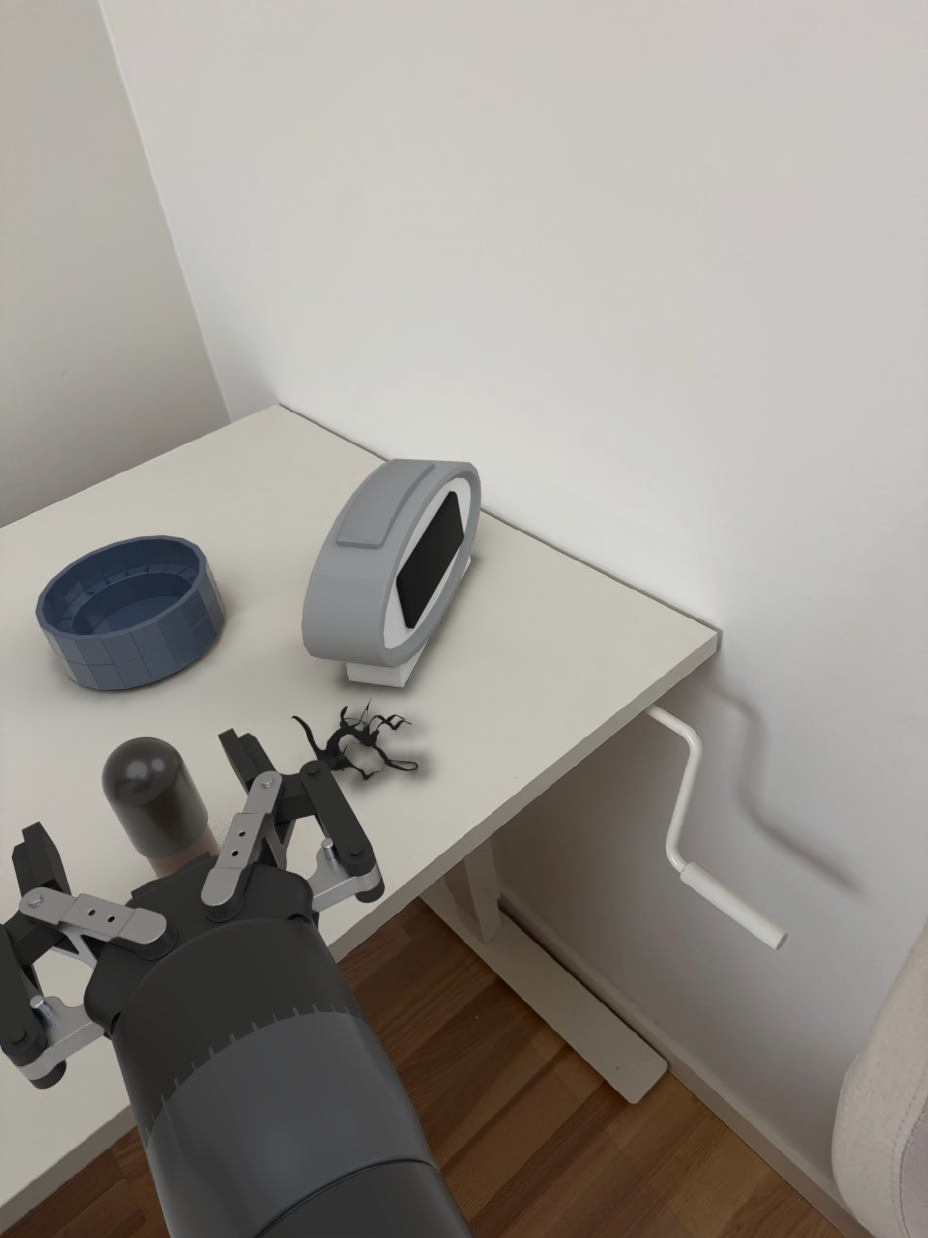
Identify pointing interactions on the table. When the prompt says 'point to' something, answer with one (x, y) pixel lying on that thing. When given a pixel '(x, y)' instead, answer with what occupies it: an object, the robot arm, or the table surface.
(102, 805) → the table surface
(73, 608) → the bowl
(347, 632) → the alarm clock
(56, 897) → the robot arm
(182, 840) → the two-tone capsule
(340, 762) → the creature
